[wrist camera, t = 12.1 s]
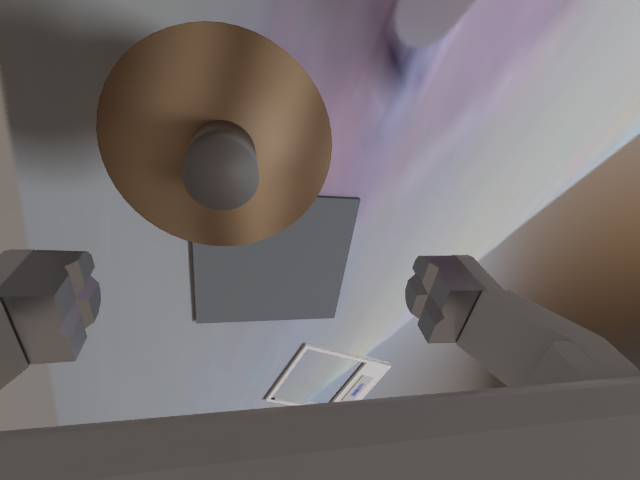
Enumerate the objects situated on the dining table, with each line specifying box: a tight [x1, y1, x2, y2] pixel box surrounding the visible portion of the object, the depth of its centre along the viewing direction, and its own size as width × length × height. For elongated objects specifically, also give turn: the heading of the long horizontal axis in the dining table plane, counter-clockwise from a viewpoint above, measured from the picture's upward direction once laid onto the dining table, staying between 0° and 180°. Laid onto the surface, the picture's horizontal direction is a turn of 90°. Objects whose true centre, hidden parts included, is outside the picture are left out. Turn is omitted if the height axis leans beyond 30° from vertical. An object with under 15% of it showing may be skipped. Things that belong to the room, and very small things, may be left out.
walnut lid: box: [96, 21, 332, 246], centre depth 21 cm, size 14×14×5 cm
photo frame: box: [265, 343, 391, 406], centre depth 63 cm, size 15×1×18 cm
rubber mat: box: [192, 196, 360, 323], centre depth 47 cm, size 20×20×1 cm
